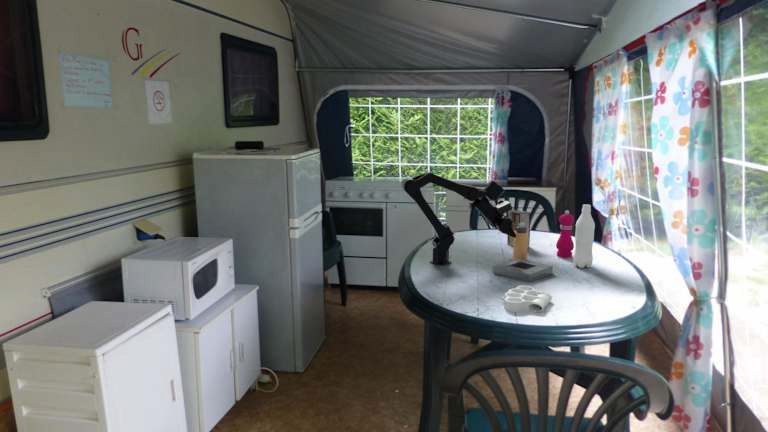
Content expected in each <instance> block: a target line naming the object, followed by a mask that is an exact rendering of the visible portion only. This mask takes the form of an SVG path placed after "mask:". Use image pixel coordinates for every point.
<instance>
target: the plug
mask: <svg viewBox="0 0 768 432" xmlns="http://www.w3.org/2000/svg"><path fill="white" fill-rule="evenodd" d="M524 226H525V223H521V224H520V223H519V225H518V226H517V227H516V231H514V232H515V234H516V238H514V246H513V248H512V249H513V250H512V251H513V252H512V255H513V256H512V259H515V258H520V259H525V260H528V247H527V245H528V232H527V227H524Z"/></svg>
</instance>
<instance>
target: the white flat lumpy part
mask: <svg viewBox="0 0 768 432" xmlns="http://www.w3.org/2000/svg"><path fill="white" fill-rule="evenodd" d="M552 298H553V296H552V295H550V293H548V292H545V291H539V290H536V289H535V288H534V287H533V286H530V285H517V286H516V287H514V288H510V289H508V290H507V292H505V293H504V296H501V297H500V298H499V299H500V300H502V301H503V308H504V310H506V311H509V312H515V313H517V312H519V313H520V312H523V311H530V312H535V313H540V312H543V311H544V309H545V308H546V307H547V306H548V304H549V303H550V302H551V301H552Z"/></svg>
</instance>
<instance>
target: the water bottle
mask: <svg viewBox="0 0 768 432" xmlns="http://www.w3.org/2000/svg"><path fill="white" fill-rule="evenodd" d="M591 207H592V206H591V204H588V203H587V204H582V208H581V214H580V215H579V217H578V219H577V220H576V223H575V235H574V240H575V243H574V244H575V245H574V254H573V256H572V258H573V264H574V266H575V267H579V268H580V269H584V268H585V267H586V268H587V267H589V268H590V267H591V266H592V264H593V260H594V259H593V258H594V257H593V245H594V240H595V238H594V237H595V227H596V224H595V221H594V218H593V217H592V213H591V212H592V208H591Z"/></svg>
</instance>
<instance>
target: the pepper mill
mask: <svg viewBox="0 0 768 432" xmlns="http://www.w3.org/2000/svg"><path fill="white" fill-rule="evenodd" d="M558 222H559V224H560V225H559V229H560V234H559V237H558V240H557V241H556V245H555V247H556V249H557V251H556V256H557V257H558V258H562V257H563V259H565V258H566V259H569V257H570V258H573V252H572V251H573V250H574V249H575V245H574V244H575V243H574V241H573V239H572V233H571V232H572V229H573V224H574V223H575V217H574V216H573V215H572V214H570V211H569V210H568V209H567V210H565V211H564V213H563V214H561V215H560V216H559V218H558Z"/></svg>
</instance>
